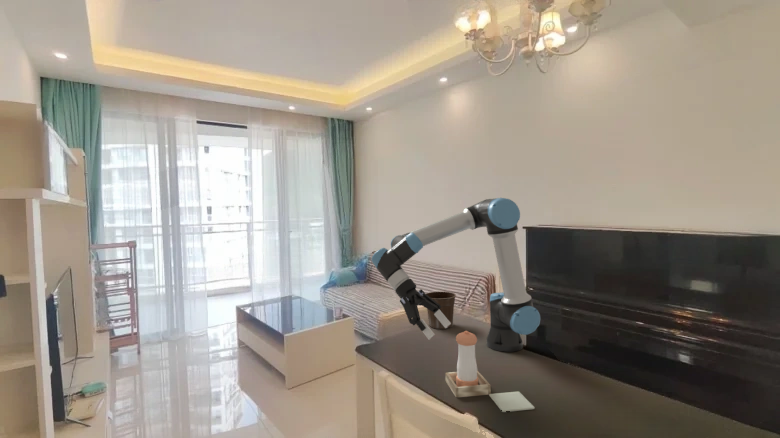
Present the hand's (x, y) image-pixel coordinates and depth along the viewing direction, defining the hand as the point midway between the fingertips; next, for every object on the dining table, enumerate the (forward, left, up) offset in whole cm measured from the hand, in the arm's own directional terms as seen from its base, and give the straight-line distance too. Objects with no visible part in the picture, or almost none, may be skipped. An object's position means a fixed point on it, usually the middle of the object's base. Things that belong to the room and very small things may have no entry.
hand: (440, 331), depth 130 cm
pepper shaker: (-7, +6, -18) cm, 20 cm away
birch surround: (-7, +6, -18) cm, 20 cm away
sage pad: (-17, +17, -18) cm, 30 cm away
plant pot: (-17, -61, -18) cm, 66 cm away
